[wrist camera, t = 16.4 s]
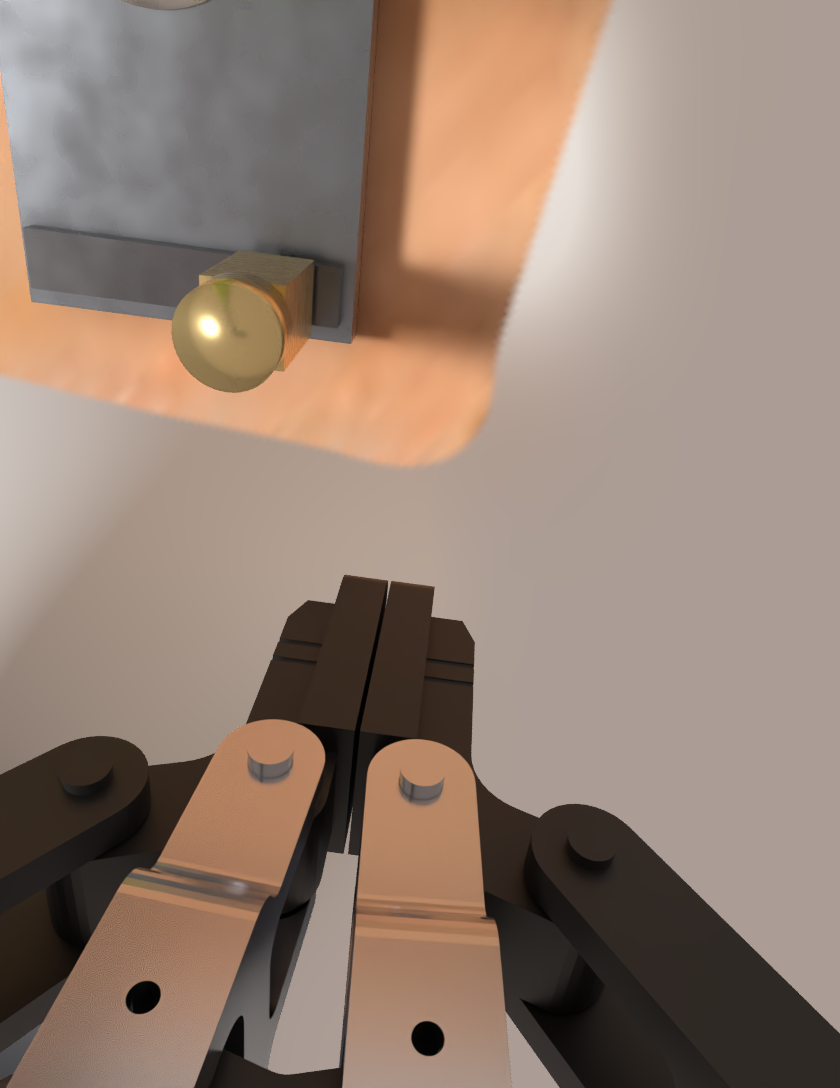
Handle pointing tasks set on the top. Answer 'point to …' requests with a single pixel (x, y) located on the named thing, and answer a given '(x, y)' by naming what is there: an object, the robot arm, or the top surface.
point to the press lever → (245, 319)
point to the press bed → (188, 145)
